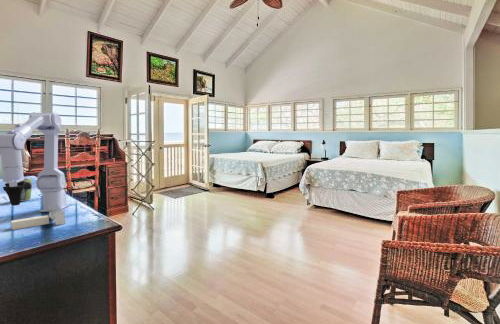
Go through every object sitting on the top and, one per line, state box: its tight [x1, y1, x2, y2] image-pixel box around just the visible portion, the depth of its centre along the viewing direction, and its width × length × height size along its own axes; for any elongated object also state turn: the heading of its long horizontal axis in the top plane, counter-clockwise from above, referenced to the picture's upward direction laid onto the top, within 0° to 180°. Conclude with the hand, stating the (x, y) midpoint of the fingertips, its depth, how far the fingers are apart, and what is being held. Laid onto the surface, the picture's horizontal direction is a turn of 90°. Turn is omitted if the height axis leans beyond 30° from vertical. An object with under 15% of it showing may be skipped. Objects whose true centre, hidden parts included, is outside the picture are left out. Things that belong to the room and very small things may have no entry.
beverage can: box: [20, 177, 33, 202], centre depth 140 cm, size 6×7×12 cm
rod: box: [10, 214, 50, 231], centre depth 103 cm, size 11×3×3 cm, turn 129°
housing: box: [48, 205, 66, 226], centre depth 109 cm, size 14×3×5 cm, turn 45°
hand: (16, 203), depth 100 cm, fingers open, 7 cm apart
